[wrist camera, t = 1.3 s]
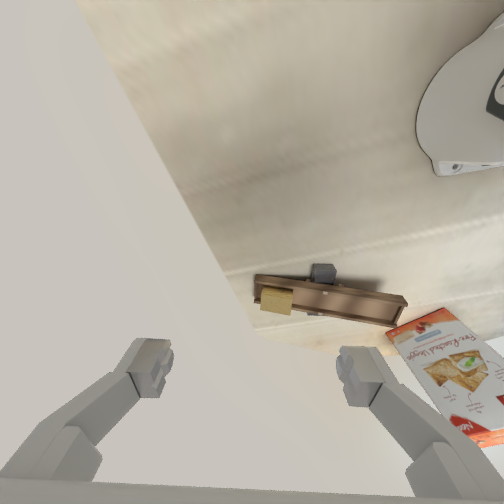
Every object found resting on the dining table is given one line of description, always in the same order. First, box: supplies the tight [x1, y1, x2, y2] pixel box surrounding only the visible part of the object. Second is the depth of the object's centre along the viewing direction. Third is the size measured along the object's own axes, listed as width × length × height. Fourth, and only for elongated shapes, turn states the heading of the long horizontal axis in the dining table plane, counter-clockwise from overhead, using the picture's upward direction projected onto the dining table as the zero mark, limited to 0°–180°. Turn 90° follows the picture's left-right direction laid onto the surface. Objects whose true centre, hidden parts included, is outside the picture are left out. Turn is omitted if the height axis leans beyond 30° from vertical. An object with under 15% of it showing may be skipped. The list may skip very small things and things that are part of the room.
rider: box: [260, 284, 293, 315], centre depth 40 cm, size 6×4×4 cm, turn 87°
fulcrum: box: [307, 264, 337, 316], centre depth 42 cm, size 4×12×2 cm, turn 179°
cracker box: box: [386, 308, 504, 448], centre depth 39 cm, size 14×6×21 cm, turn 129°
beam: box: [254, 274, 408, 328], centre depth 40 cm, size 28×6×4 cm, turn 87°
